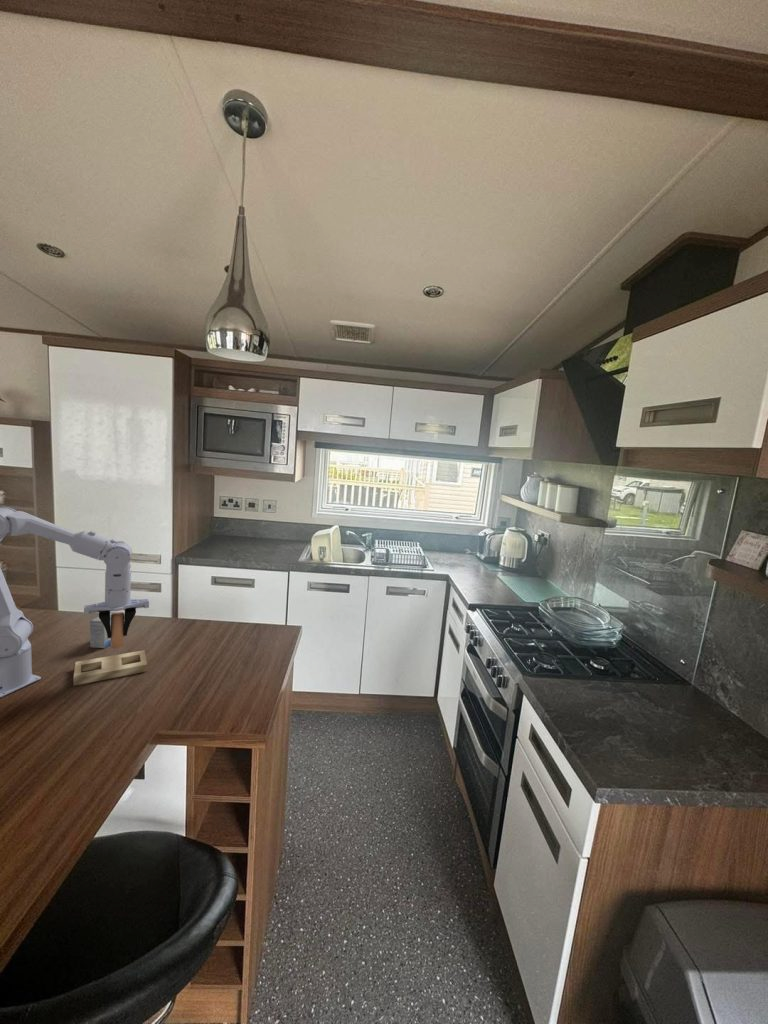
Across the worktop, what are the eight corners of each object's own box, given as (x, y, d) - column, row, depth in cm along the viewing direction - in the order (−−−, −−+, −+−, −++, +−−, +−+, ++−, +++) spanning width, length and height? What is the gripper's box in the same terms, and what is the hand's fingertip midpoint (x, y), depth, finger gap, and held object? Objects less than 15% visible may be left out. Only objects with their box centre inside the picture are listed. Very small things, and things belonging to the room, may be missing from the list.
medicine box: (104, 649, 119) (104, 621, 118) (89, 647, 119) (89, 620, 118) (122, 637, 127) (122, 611, 125) (108, 636, 127) (108, 610, 126)
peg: (116, 649, 106) (117, 617, 105) (107, 646, 107) (108, 615, 106) (126, 644, 109) (127, 613, 108) (117, 642, 110) (118, 611, 109)
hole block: (73, 685, 100) (73, 678, 100) (75, 668, 107) (75, 661, 107) (146, 671, 109) (146, 664, 109) (144, 656, 117) (144, 650, 116)
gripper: (83, 595, 99) (83, 646, 100) (150, 589, 107) (149, 636, 109) (84, 586, 104) (84, 635, 106) (148, 581, 113) (147, 626, 114)
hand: (117, 635), depth 108 cm, fingers closed on peg, 3 cm apart
